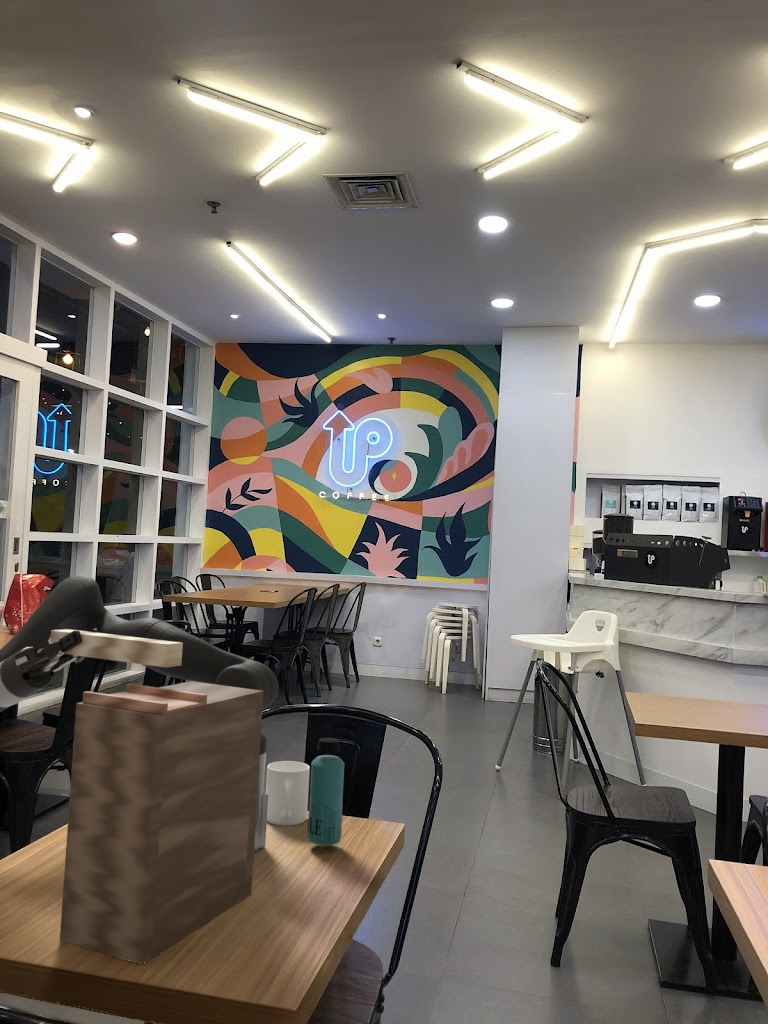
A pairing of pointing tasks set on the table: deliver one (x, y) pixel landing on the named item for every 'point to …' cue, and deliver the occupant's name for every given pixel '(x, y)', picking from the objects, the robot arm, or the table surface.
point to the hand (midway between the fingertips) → (88, 635)
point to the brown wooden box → (159, 814)
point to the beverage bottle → (326, 795)
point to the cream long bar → (124, 648)
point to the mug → (287, 792)
